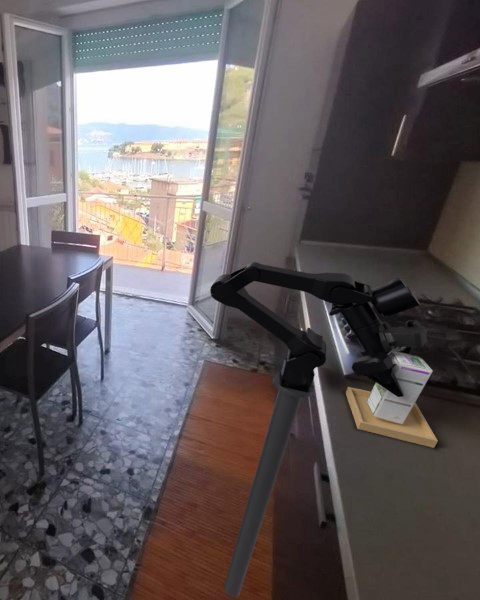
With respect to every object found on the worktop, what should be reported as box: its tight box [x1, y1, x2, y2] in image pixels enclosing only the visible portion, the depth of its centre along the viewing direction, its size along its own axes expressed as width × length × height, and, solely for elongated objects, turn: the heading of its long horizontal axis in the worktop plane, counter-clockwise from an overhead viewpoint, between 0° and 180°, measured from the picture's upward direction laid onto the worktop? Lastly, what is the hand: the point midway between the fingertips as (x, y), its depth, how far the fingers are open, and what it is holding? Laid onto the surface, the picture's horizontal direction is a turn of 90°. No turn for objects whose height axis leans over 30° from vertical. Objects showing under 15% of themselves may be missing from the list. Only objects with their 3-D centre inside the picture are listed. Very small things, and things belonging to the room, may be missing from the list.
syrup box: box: [366, 352, 434, 424], centre depth 78 cm, size 6×6×14 cm
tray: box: [345, 386, 439, 449], centre depth 81 cm, size 13×13×2 cm
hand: (407, 389), depth 77 cm, fingers closed on syrup box, 7 cm apart
